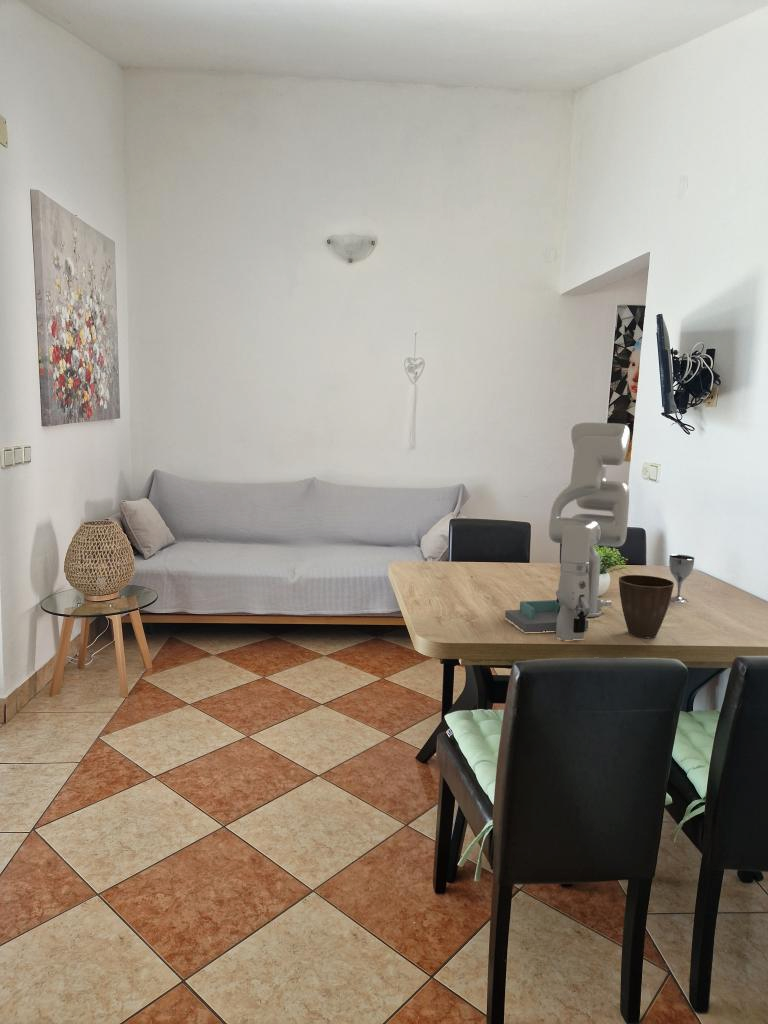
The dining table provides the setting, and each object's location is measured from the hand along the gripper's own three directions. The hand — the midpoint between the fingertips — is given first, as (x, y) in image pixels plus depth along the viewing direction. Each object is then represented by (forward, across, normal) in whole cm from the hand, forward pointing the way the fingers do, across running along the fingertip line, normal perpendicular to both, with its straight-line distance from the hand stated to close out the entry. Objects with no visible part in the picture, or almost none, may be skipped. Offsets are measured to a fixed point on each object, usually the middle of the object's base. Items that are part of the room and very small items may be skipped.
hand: (570, 627), depth 204 cm
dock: (+3, +13, +1) cm, 14 cm away
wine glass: (+3, +33, -59) cm, 68 cm away
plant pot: (+3, 0, -23) cm, 23 cm away
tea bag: (+4, 0, 0) cm, 4 cm away
